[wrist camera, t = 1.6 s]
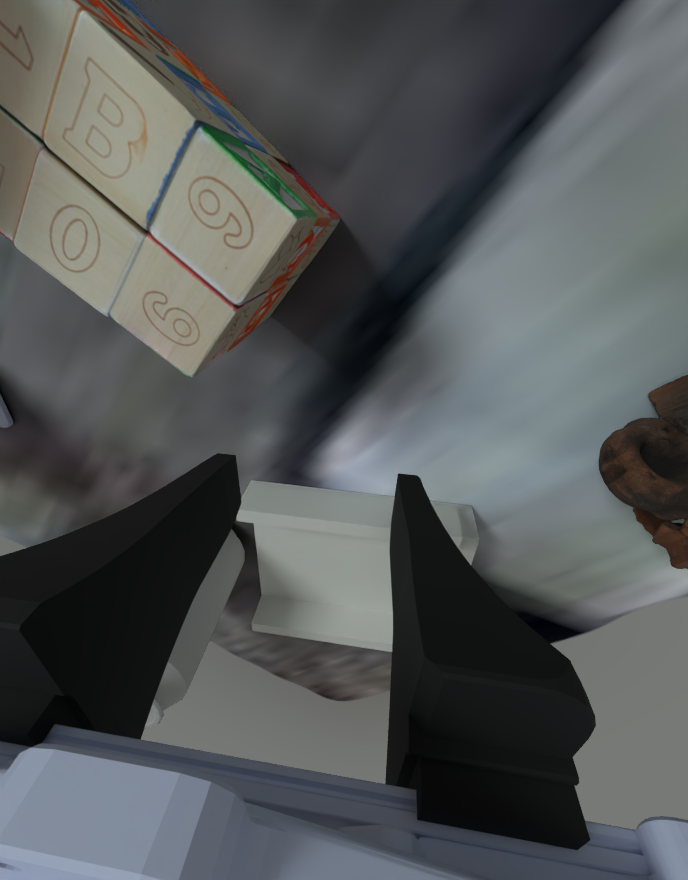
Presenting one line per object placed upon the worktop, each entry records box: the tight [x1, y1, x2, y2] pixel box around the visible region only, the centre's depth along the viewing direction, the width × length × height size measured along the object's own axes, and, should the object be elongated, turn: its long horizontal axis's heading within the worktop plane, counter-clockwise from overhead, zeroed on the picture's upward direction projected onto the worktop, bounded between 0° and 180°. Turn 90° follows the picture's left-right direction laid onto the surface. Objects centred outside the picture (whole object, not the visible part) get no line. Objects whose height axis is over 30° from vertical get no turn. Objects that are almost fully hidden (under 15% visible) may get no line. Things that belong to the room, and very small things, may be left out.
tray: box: [236, 480, 480, 652], centre depth 28 cm, size 15×13×3 cm
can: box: [144, 529, 245, 729], centre depth 25 cm, size 8×8×12 cm
